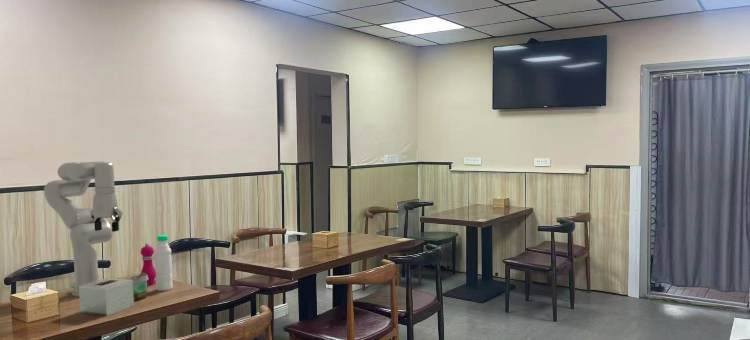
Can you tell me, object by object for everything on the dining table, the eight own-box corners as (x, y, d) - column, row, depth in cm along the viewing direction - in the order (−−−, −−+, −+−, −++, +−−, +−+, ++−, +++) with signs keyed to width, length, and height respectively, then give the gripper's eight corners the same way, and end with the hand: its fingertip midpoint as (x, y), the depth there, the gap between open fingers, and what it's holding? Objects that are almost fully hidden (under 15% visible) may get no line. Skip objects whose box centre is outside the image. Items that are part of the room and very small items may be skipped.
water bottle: (174, 287, 268) (172, 234, 267) (170, 291, 261) (167, 236, 260) (159, 287, 268) (157, 234, 267) (154, 291, 261) (151, 237, 260)
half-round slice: (138, 302, 243) (137, 279, 242) (125, 302, 244) (124, 279, 243) (155, 295, 255) (154, 272, 254) (142, 294, 256) (141, 272, 256)
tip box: (80, 312, 230) (79, 285, 229) (108, 303, 243) (107, 277, 242) (106, 315, 225) (105, 288, 224) (133, 306, 238) (132, 279, 237)
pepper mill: (151, 281, 281) (150, 241, 280) (159, 283, 276) (157, 242, 275) (137, 284, 275) (135, 243, 274) (145, 286, 271) (143, 244, 270)
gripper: (82, 191, 245) (84, 231, 246) (113, 192, 239) (115, 232, 240) (97, 190, 252) (98, 228, 253) (127, 190, 246) (129, 230, 247)
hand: (106, 230), depth 246 cm, fingers open, 9 cm apart
